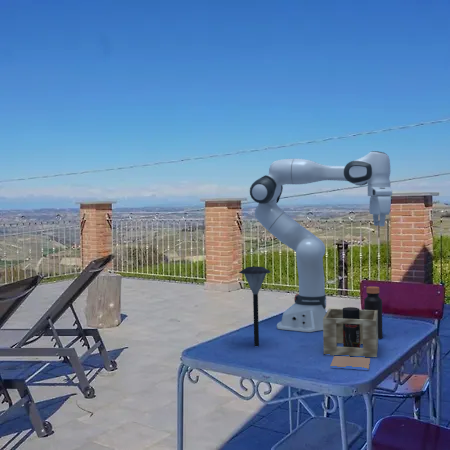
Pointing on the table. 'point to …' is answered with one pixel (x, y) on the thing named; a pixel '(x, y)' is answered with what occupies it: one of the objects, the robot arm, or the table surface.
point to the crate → (335, 333)
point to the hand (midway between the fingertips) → (379, 225)
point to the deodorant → (351, 328)
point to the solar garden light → (255, 292)
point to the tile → (350, 361)
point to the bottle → (374, 305)
